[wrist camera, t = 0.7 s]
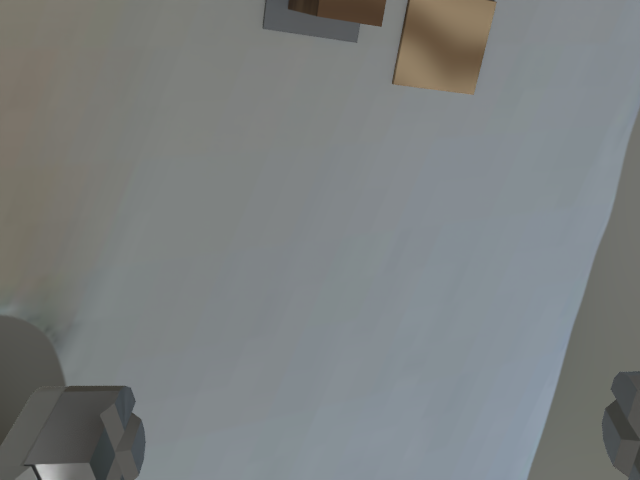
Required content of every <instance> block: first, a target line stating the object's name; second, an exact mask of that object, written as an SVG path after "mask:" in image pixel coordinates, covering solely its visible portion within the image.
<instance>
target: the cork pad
mask: <svg viewBox="0 0 640 480" xmlns="http://www.w3.org/2000/svg"><path fill="white" fill-rule="evenodd" d="M496 3H497V2H494V1H488V0H408V4H407V9H406V14H405V19H404V24H403V29H402V35H401V40H400V45H399V50H398V55H397V60H396V66H395V71H394V76H393V81H392V84H395V85H403V86H410V87H418V88H426V89H434V90H441V91H449V92H457V93H465V94H472V95H474V92H475V87H476V83H477V79H478V75H479V71H480V67H481V63H482V59H483V55H484V51H485V47H486V43H487V39H488V35H489V31H490V27H491V23H492V19H493V15H494V11H495V7H496Z"/></svg>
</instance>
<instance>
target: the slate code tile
mask: <svg viewBox="0 0 640 480" xmlns="http://www.w3.org/2000/svg"><path fill="white" fill-rule="evenodd" d="M288 3H289V0H266V3H265V13H264V22H263V29H268V30H275V31H282V32H289V33H295V34H302V35H309V36H316V37H322V38H329V39H336V40H343V41H349V42H356V43H357V39H358V33H359V27H360V23H355V22H349V21H342V20H336V19H330V18H323V17H317V16H313V15H309V14H305V13H301V12H297V11H293V10H289V9H288Z"/></svg>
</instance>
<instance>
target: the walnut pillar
mask: <svg viewBox="0 0 640 480" xmlns="http://www.w3.org/2000/svg"><path fill="white" fill-rule="evenodd" d="M385 4H386V0H289V3H288V9H289V10H293V11H297V12H301V13H305V14H309V15H313V16H317V17H323V18H330V19H336V20H342V21H349V22H355V23H361V24H367V25H374V26H380V27H381V26H382V20H383V15H384V9H385Z"/></svg>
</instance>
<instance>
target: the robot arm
mask: <svg viewBox="0 0 640 480" xmlns="http://www.w3.org/2000/svg"><path fill="white" fill-rule="evenodd" d="M611 390H612V392H613V394H614V396H615V398H616V400H615V401H614V402H613V403H611V404H610V405H609V406H608V407H606V408H605V412H604V416H603V420H602V431H603V440H604V444H605V447H606V450H607V454H608V456H609V458H610V460H611V462H612V464H613V466H614V467H615V468H617V469H618V470H619V471H621V472H622V473H623V474H625V475H626V476H628V477H629V479H628V480H640V371H633V372H619V373H618V374H617V375H616V377H615V378H614V380H613V384H612V387H611ZM135 402H136V401H135V398H134V395H133V392H132V390H131V387H127V386H69V387H46V386H45V387H44V386H43V387H42V386H41V387H40V388H38V389H37V390H36V391H34V392H33V393H32V395H31V396H30V398H29V400H28V402H27V403H26V405H25V406H24V408H23V410H22V411H21V413H20V415H19V416H18V418H17V420H16V421H15V423H14V425H13V426H12V428H11V430H10V432H9V433H8V435H7V437H6V438H5V440H4V442H3V443H2V445H1V447H0V480H134V479H135V478H136V477H138V476H139V473H140V470H141V467H142V464H143V460H144V452H145V443H146V442H145V431H144V427H143V423H142V420H141V419H140V418H139V417H137V416H136V415H135V414H134V413H132V410H133V407H134V405H135Z"/></svg>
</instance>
